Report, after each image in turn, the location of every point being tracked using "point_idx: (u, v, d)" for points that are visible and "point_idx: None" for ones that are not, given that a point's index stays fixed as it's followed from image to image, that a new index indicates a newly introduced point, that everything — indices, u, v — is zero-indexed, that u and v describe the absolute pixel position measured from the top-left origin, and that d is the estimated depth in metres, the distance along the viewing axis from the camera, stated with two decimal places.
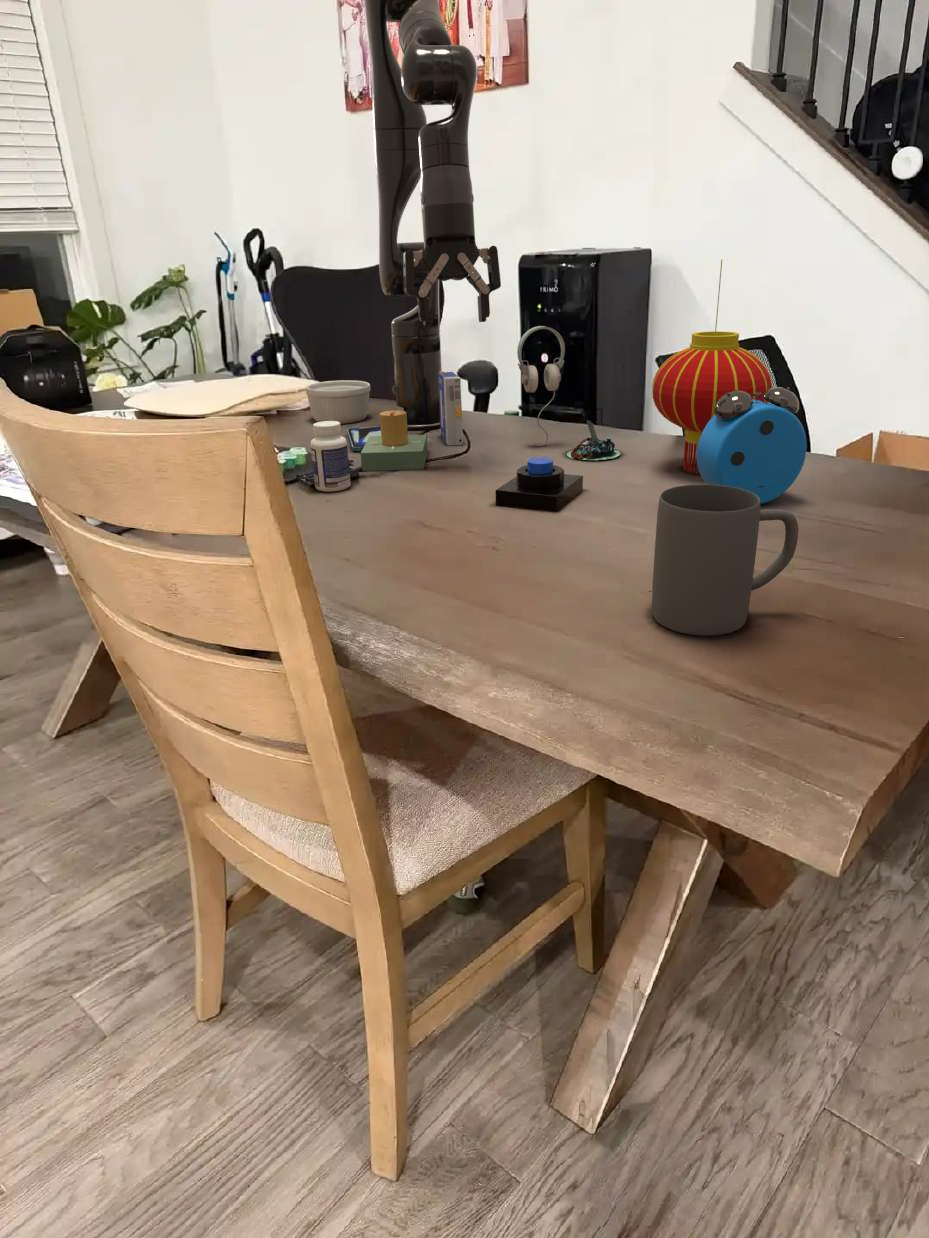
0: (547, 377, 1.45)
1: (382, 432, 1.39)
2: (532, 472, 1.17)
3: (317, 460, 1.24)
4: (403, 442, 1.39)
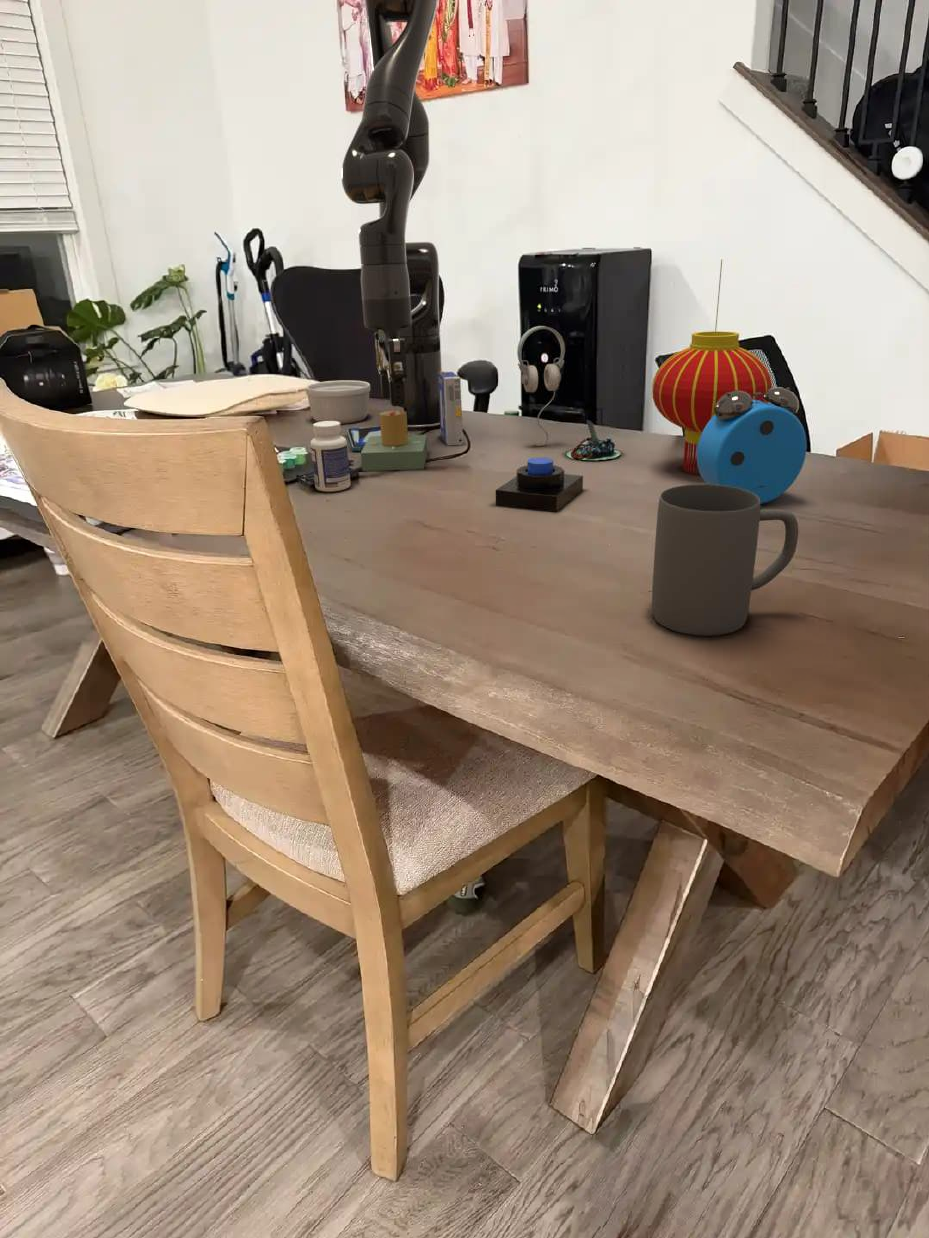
0: (547, 377, 1.45)
1: (382, 432, 1.39)
2: (532, 472, 1.17)
3: (316, 460, 1.24)
4: (403, 442, 1.39)
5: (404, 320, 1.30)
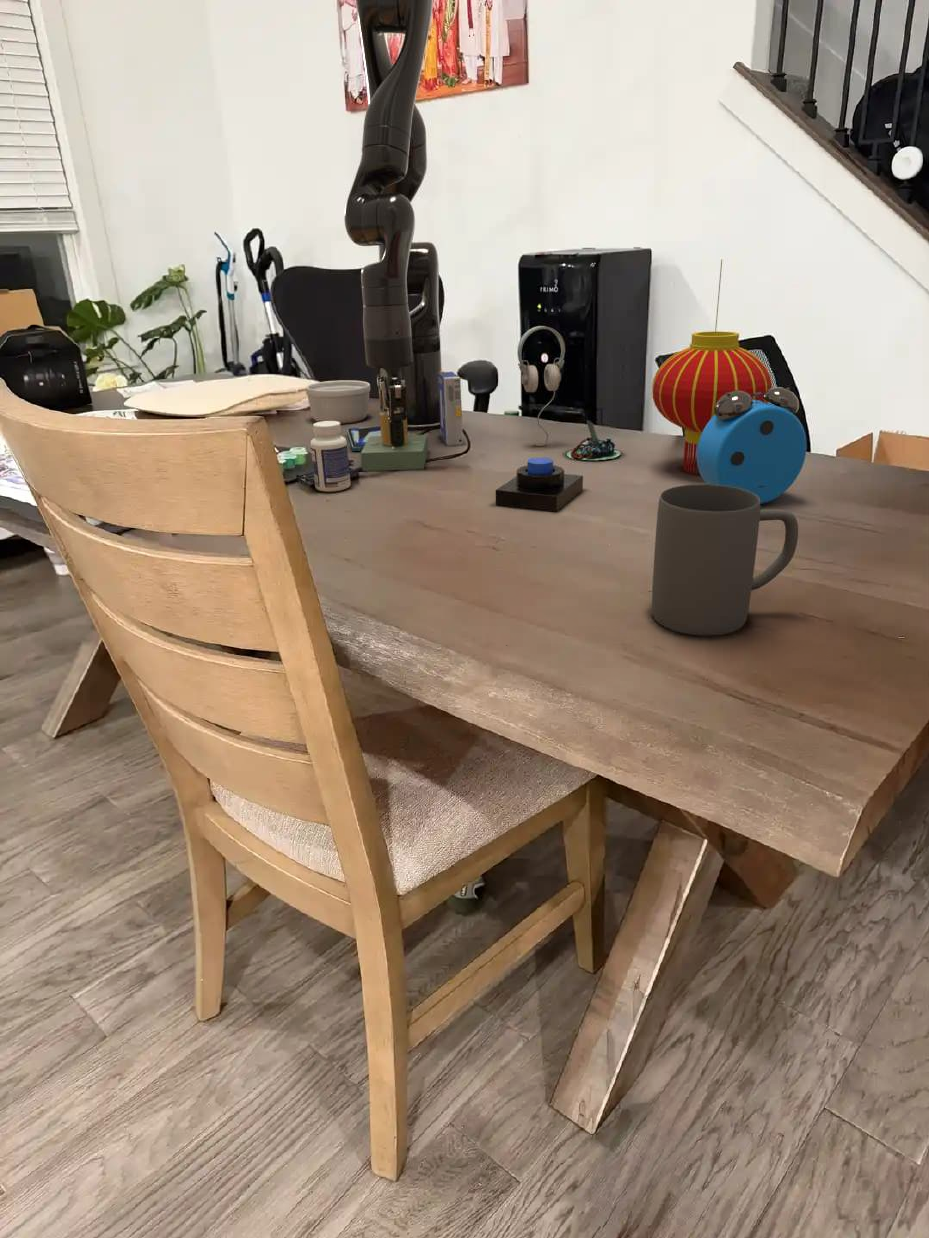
0: (547, 377, 1.45)
1: (382, 432, 1.39)
2: (532, 472, 1.17)
3: (316, 460, 1.24)
4: None
5: (405, 359, 1.33)
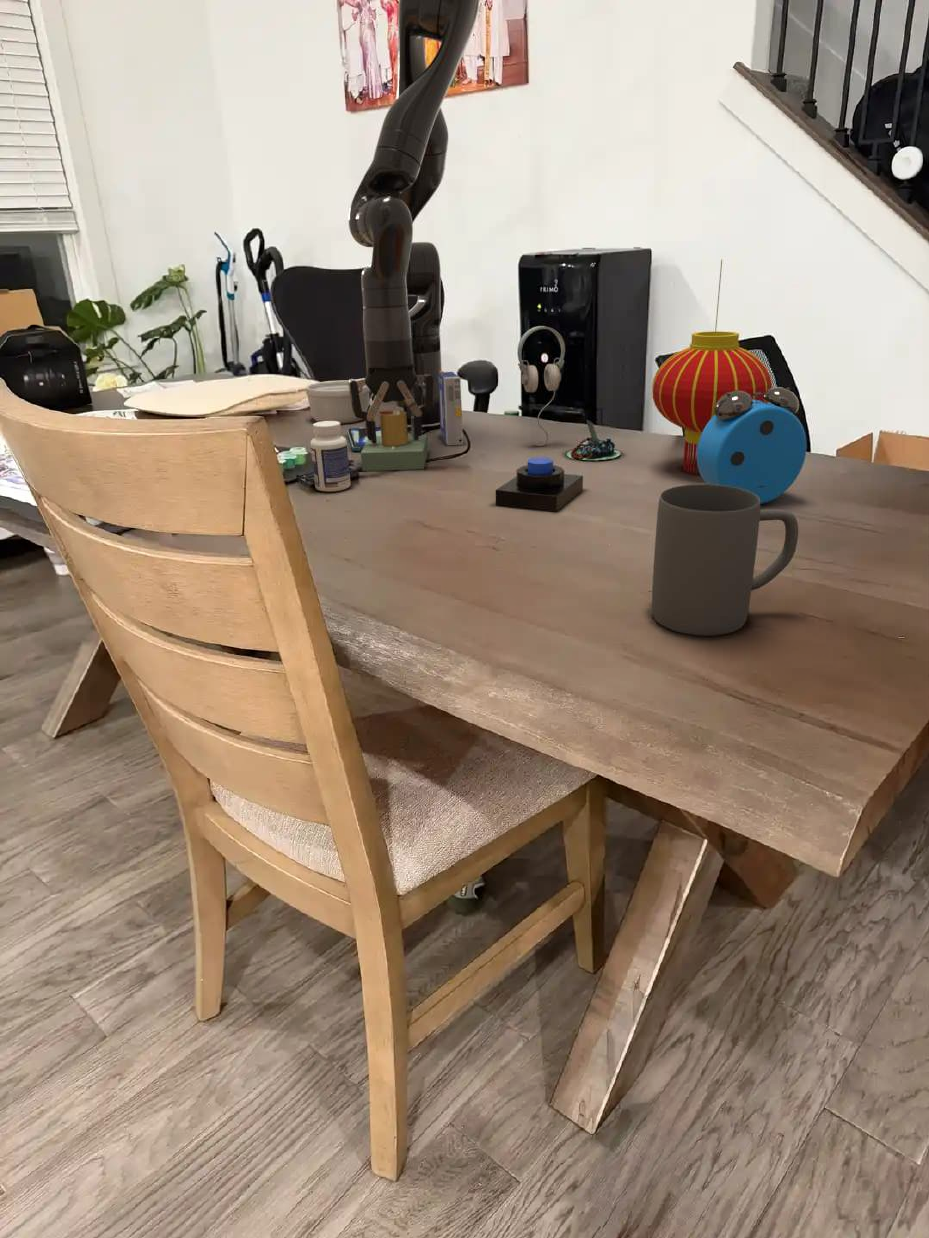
0: (547, 377, 1.45)
1: None
2: (532, 472, 1.17)
3: (316, 460, 1.24)
4: (384, 443, 1.39)
5: (371, 362, 1.33)
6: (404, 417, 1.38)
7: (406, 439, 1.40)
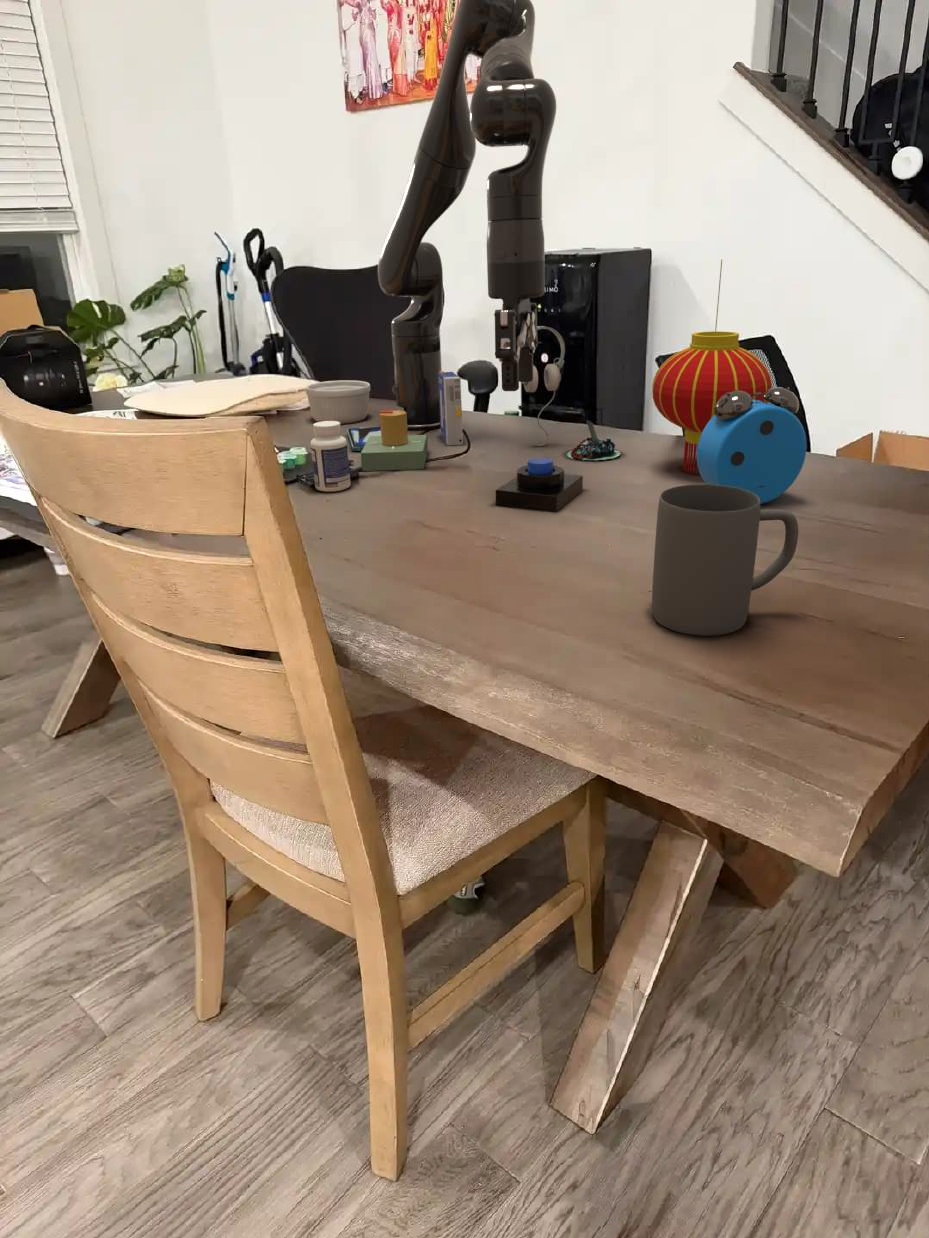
0: (547, 377, 1.45)
1: None
2: (532, 472, 1.17)
3: (316, 460, 1.24)
4: (384, 443, 1.39)
5: (525, 289, 1.08)
6: (404, 417, 1.38)
7: (406, 439, 1.40)
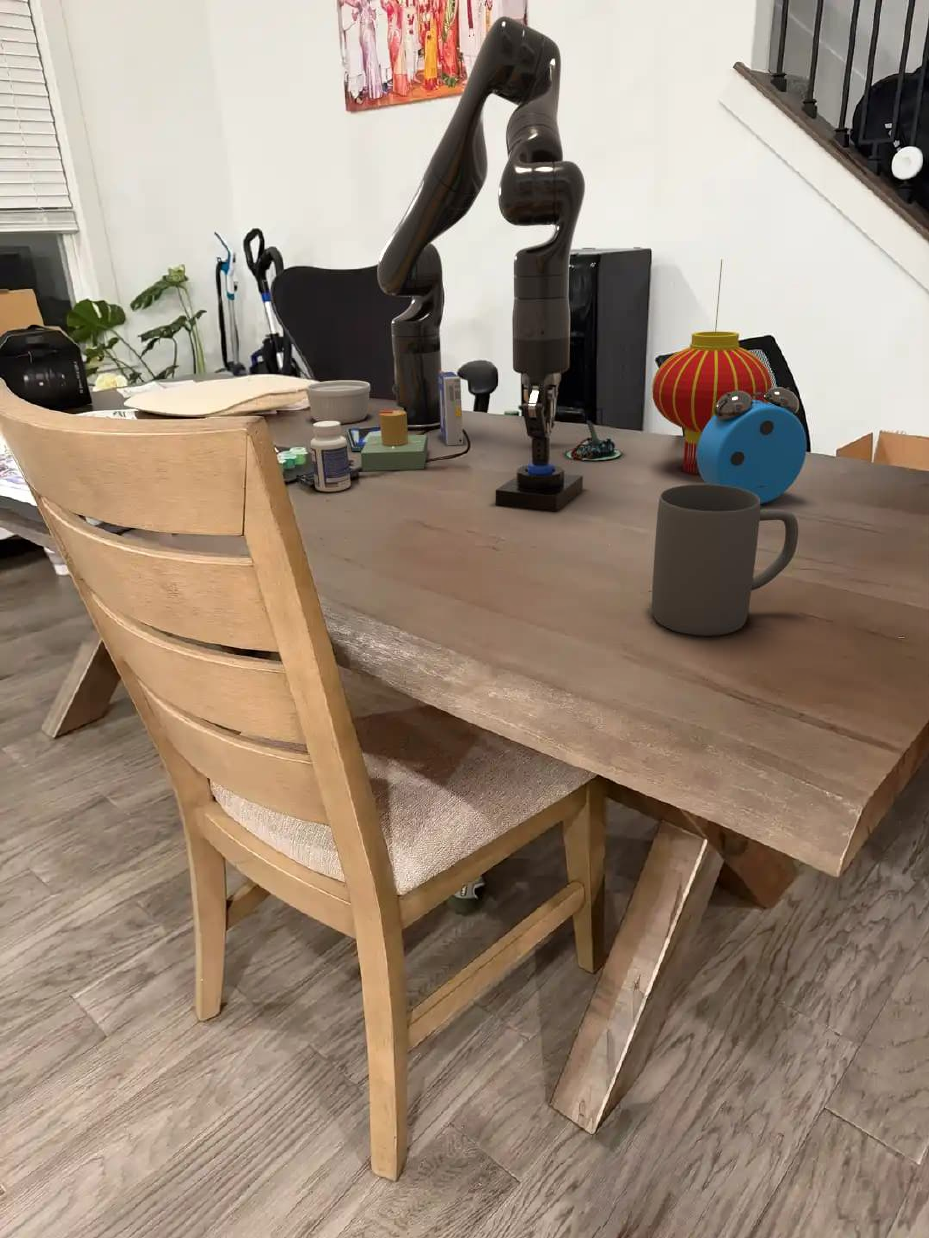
0: None
1: None
2: None
3: (316, 460, 1.24)
4: (384, 443, 1.39)
5: (551, 365, 1.09)
6: (404, 417, 1.38)
7: (406, 439, 1.40)
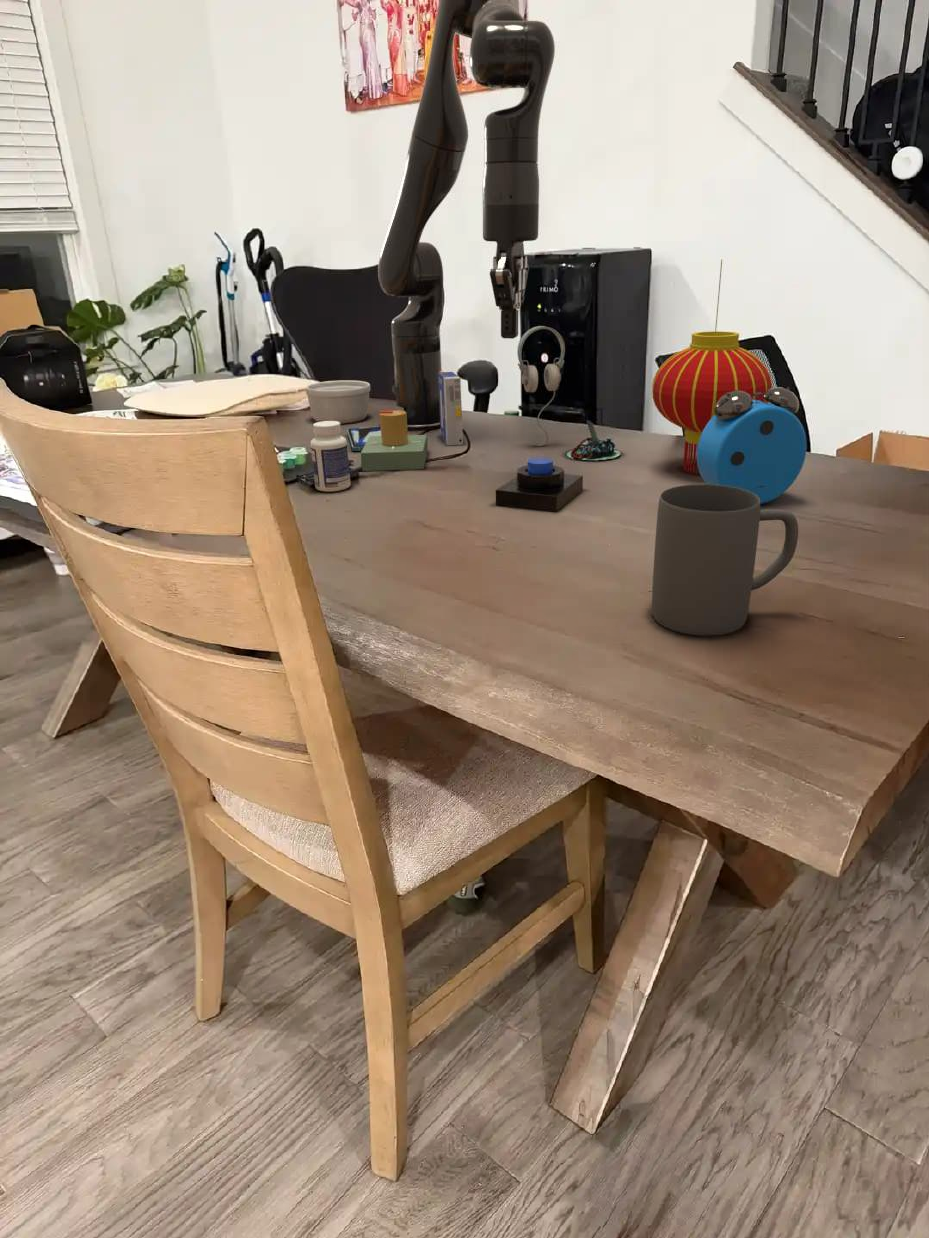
0: (547, 377, 1.45)
1: None
2: (532, 472, 1.17)
3: (316, 460, 1.24)
4: (384, 443, 1.39)
5: (519, 232, 1.11)
6: (404, 417, 1.38)
7: (406, 439, 1.40)
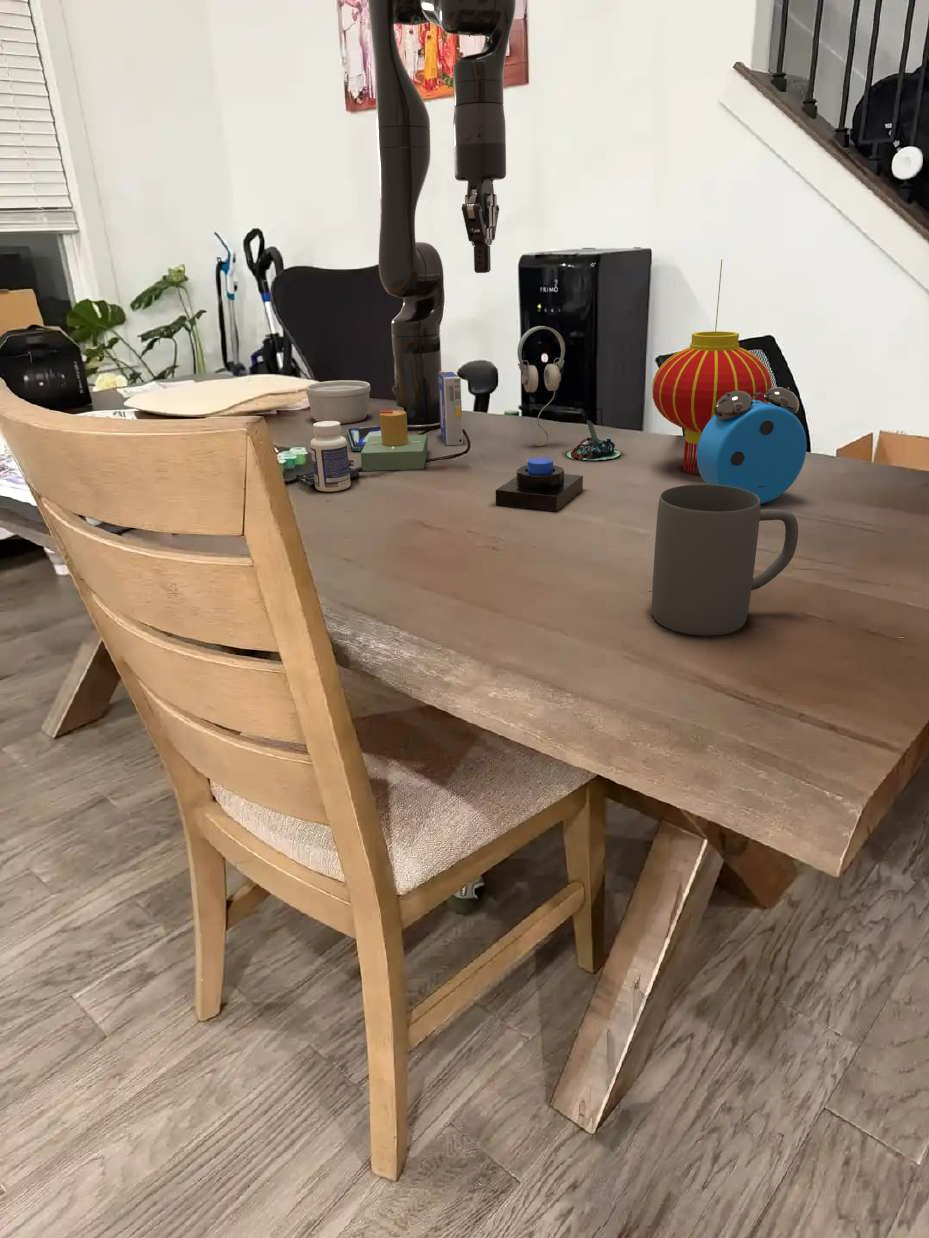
0: (547, 377, 1.45)
1: None
2: (532, 472, 1.17)
3: (316, 460, 1.24)
4: (384, 443, 1.39)
5: (488, 169, 1.20)
6: (404, 417, 1.38)
7: (406, 439, 1.40)
